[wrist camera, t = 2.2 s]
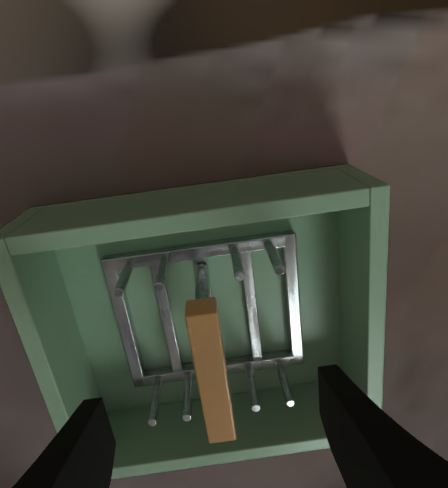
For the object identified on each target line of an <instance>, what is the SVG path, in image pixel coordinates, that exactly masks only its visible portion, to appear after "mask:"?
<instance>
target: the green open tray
mask: <svg viewBox="0 0 448 488" xmlns="http://www.w3.org/2000/svg"><path fill="white" fill-rule="evenodd" d="M389 204H390V185H389V184H387V183H385V182H383V181H381V180H379V179H377V178H375V177H373V176H371V175H369V174H367V173H365V172H363V171H361V170H359V169H357V168H355V167H353V166H352V165H350V164H344V165H337V166H330V167H322V168H315V169H308V170H300V171H293V172H286V173H279V174H271V175H264V176H257V177H249V178H242V179H235V180H227V181H220V182H213V183H206V184H198V185H191V186H184V187H176V188H169V189H162V190H154V191H147V192H140V193H133V194H125V195H118V196H111V197H103V198H96V199H89V200H82V201H74V202H67V203H60V204H52V205H45V206H38V207H31V208H29V209H28V210H26V211H25V212H24V213H22V214H21V215H19V216H18V217H17V218H15V219H14V220H12V221H11V222H10V223H8V224H7V225H5V226H4V227H3V228H1V229H0V286H1V289H2V291H3V294H4V297H5V299H6V302H7V304H8V307H9V310H10V312H11V315H12V317H13V320H14V323H15V325H16V328H17V330H18V333H19V336H20V338H21V341H22V343H23V346H24V349H25V351H26V354H27V356H28V359H29V362H30V364H31V367H32V369H33V372H34V375H35V377H36V380H37V382H38V385H39V388H40V390H41V393H42V395H43V398H44V401H45V403H46V406H47V408H48V411H49V414H50V416H51V419H52V421H53V424H54V427H55V429H56V432H57V433H58V432H59V431H60V429H61V428H62V427H63V426H64V424H65V423H66V422H67V420H68V419H69V418H70V417H71V415H72V414H73V413H74V411H75V410H76V409H77V407H78V406H79V405H80V404H81V403H82V401H83V400H85V399H92V398H99V397H102V399H103V402H104V405H105V408H106V412H107V415H108V418H109V421H110V424H111V428H112V431H113V434H114V437H115V440H116V448H115V456H114V464H113V471H112V477H111V479H116V478H123V477H130V476H137V475H144V474H151V473H158V472H165V471H172V470H179V469H186V468H193V467H200V466H207V465H214V464H221V463H228V462H235V461H242V460H249V459H256V458H263V457H270V456H277V455H284V454H291V453H298V452H305V451H312V450H319V449H326V448H330V446H329V443H328V440H327V437H326V434H325V430H324V427H323V424H322V420H321V417H320V411H319V387H318V367H320V366H327V365H334V364H336V365H338V366H339V367H340V368H341V369H342V370H343V371H344V373H345V374H346V375H347V376H348V377H349V378H350V379H351V380H352V381H353V382H354V383H355V384H356V385H357V386H358V387H359V388H360V389H361V390H362V391H363V392H364V393H365V394H366V395H367V396H368V397H369V398H370V399H371V400H372V401H373V402H374V403H375V404H376V405H377V406H378V407H380V408H381V409H382V399H383V371H384V343H385V315H386V287H387V259H388V231H389ZM284 230H294V232H295V233H296V243H297V260H298V276H299V293H300V310H301V327H302V344H303V359H304V363H303V364H299V365H292V366H284V368H285V371H286V374H287V378H288V381H289V384H290V388H291V391H292V394H293V397H294V401H295V404H294V406H292V407H288V406H287V405H286V403H285V399H284V396H283V392H282V388H281V385H280V381H279V377H278V374H277V370H276V368H270V369H263V370H256V371H254V376H255V381H256V386H257V392H258V397H259V402H260V410H259V411H257V412H254V411H252V409H251V404H250V397H249V391H248V385H247V379H246V373H245V372H242V373H235V374H228V378H229V385H230V392H231V398H232V405H233V411H234V418H235V427H236V436H237V438H236V440H232V441H225V442H218V443H209V442H208V437H207V432H206V426H205V421H204V416H203V410H202V405H201V400H200V395H199V389H198V384H197V379H193V380H192V418H191V420H190V421H187V422H186V421H184V420H183V419H182V411H183V392H184V381H178V382H171V383H164V384H162V386H161V394H160V402H159V410H158V418H157V424H156V425H155V426H149V425H148V416H149V410H150V403H151V397H152V390H153V385H150V386H143V387H136V388H135V387H134V384H133V380H132V376H131V372H130V369H129V365H128V361H127V357H126V354H125V350H124V346H123V342H122V339H121V335H120V331H119V327H118V324H117V320H116V316H115V313H114V309H113V305H112V301H111V298H110V294H109V290H108V286H107V283H106V279H105V275H104V272H103V268H102V264H101V259H102V258H103V256H104V255H111V254H118V253H125V252H133V251H140V250H147V249H154V248H162V247H169V246H176V245H183V244H191V243H198V242H205V241H212V240H219V239H227V238H234V237H241V236H248V235H256V234H263V233H270V232H277V231H284ZM276 251H277V253H278V255H279V257H280V259H281V261H282V249H281V248H276ZM251 255H252V264H253V273H254V283H255V292H256V301H257V311H258V320H259V329H260V338H261V348H262V353H264V352H271V351H278V350H285V349H289V342H288V328H287V315H286V302H285V289H284V275H283V274H282V275H277V274H276V273H275V271H274V269H273V267H272V264H271V262H270V259H269V257H268V254H267V252H266V250H261V251H253V252H251ZM282 263H283V262H282ZM207 264H208V268H209V277H210V284H211V290H212V297H216V299H217V306H218V312H219V319H220V326H221V332H222V339H223V345H224V352H225V358H228V357H235V356H243V355H250V354H252V353H251V344H250V336H249V328H248V319H247V311H246V302H245V294H244V286H243V280H241V281H238V280H236V279H235V277H234V272H233V267H232V261H231V256H230V255H225V256H217V257H210V258H207ZM195 269H196V263H195V260H189V261H181V262H174V263H169V265H168V271H167V277H166V285H167V290H168V295H169V300H170V305H171V309H172V314H173V319H174V324H175V329H176V334H177V339H178V344H179V349H180V354H181V359H182V364H186V363H193V358H192V353H191V347H190V342H189V337H188V332H187V326H186V321H185V306H186V301H189V300H195ZM121 272H122V270H121ZM125 291H126V295H127V299H128V303H129V307H130V311H131V315H132V319H133V323H134V327H135V331H136V335H137V339H138V343H139V347H140V351H141V355H142V359H143V363H144V367H145V369H150V368H157V367H165V366H171V361H170V356H169V352H168V347H167V343H166V338H165V333H164V329H163V324H162V320H161V315H160V310H159V306H158V301H157V296H156V292H155V289H154V283H153V278H152V273H151V269H150V266H145V267H138V268H133V271H132V274H131V277H130V279H129V282H128V285H127V288H126V290H125Z"/></svg>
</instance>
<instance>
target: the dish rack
mask: <svg viewBox="0 0 448 488" xmlns="http://www.w3.org/2000/svg"><path fill="white" fill-rule="evenodd" d="M276 248H281V249H282V261H281V259H280V257H279V255H278V253H277V251H276ZM261 250H266V252H267V254H268V257H269V259H270V262H271V264H272V267H273V269H274V271H275V273H276V274H277V275H282V274H283V275H284V289H285V302H286V315H287V328H288V342H289V349H285V350H278V351H271V352H264V353H262V348H261V338H260V329H259V320H258V311H257V301H256V292H255V283H254V273H253V264H252V255H251V252H253V251H261ZM225 255H230V256H231V261H232V267H233V272H234V277H235V279H236V280H238V281H241V280H243V286H244V294H245V302H246V311H247V319H248V328H249V336H250V344H251V353H252V354H250V355H243V356H235V357H228V358H225V352H224V345H223V339H222V332H221V326H220V319H219V312H218V306H217V299H216V297H212V290H211V284H210V277H209V268H208V264H207V258H210V257H217V256H225ZM189 260H195V263H196V269H195V300H189V301H186V306H185V321H186V326H187V332H188V337H189V342H190V347H191V353H192V358H193V363H186V364H182V359H181V354H180V349H179V344H178V339H177V334H176V329H175V324H174V319H173V314H172V309H171V305H170V300H169V295H168V290H167V285H166V277H167V271H168V265H169V263H174V262H181V261H189ZM282 262H283V263H282ZM101 264H102V268H103V272H104V275H105V279H106V283H107V286H108V290H109V294H110V298H111V301H112V305H113V309H114V313H115V316H116V320H117V324H118V327H119V331H120V335H121V339H122V342H123V346H124V350H125V354H126V357H127V361H128V365H129V369H130V372H131V376H132V380H133V384H134V387H135V388H136V387H143V386H150V385H153V390H152V397H151V403H150V410H149V416H148V425H149V426H155V425H156V424H157V418H158V410H159V402H160V394H161V386H162V384H164V383H171V382H178V381H184V392H183V411H182V419H183V420H184V421H186V422H187V421H190V420H191V418H192V380H193V379H197V384H198V389H199V395H200V400H201V405H202V410H203V416H204V421H205V426H206V432H207V437H208V442H209V443H218V442H225V441H232V440H236V438H237V436H236V427H235V418H234V411H233V405H232V398H231V392H230V385H229V378H228V374H235V373H242V372H245V373H246V379H247V385H248V391H249V397H250V404H251V409H252V411H254V412H257V411H259V410H260V402H259V397H258V392H257V386H256V381H255V376H254V371H256V370H263V369H270V368H276V370H277V374H278V377H279V381H280V385H281V388H282V392H283V396H284V399H285V403H286V405H287V406H288V407H292V406H294V404H295V401H294V397H293V394H292V391H291V388H290V384H289V381H288V378H287V374H286V371H285V368H284V366H292V365H299V364H303V363H304V359H303V344H302V327H301V310H300V293H299V276H298V260H297V243H296V233H295V232H294V230H284V231H277V232H270V233H263V234H256V235H248V236H241V237H234V238H227V239H219V240H212V241H205V242H198V243H191V244H183V245H176V246H169V247H162V248H154V249H147V250H140V251H133V252H125V253H118V254H111V255H104V256H103V258H102V259H101ZM145 266H150V269H151V273H152V278H153V283H154V289H155V292H156V296H157V301H158V306H159V310H160V315H161V320H162V324H163V329H164V333H165V338H166V343H167V347H168V352H169V356H170V361H171V366H165V367H157V368H150V369H145V367H144V363H143V359H142V355H141V351H140V347H139V343H138V339H137V335H136V331H135V327H134V323H133V319H132V315H131V311H130V307H129V303H128V299H127V295H126V291H125V290H126V288H127V285H128V282H129V279H130V277H131V274H132V271H133V268H138V267H145ZM121 270H122V272H121Z"/></svg>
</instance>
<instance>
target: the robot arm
mask: <svg viewBox="0 0 448 488" xmlns="http://www.w3.org/2000/svg"><path fill="white" fill-rule="evenodd" d="M318 387H319V411H320V417H321V420H322V424H323V427H324V430H325V434H326V437H327V440H328V443H329V446H330V448H331V451H332V453H333V456H334V458H335V460H336V463H337V465H338V468H339V470H340V472H341V475H342V477H343V479H344V482H345V484H346V487H347V488H448V461H446V460H445V459H443V458H442V457H441V456H439V455H438V454H436V453H435V452H433V451H432V450H431V449H429V448H428V447H427V446H425V445H424V444H423V443H421V442H420V441H419V440H417V439H416V438H415V437H413V436H412V435H411V434H410V433H408V432H407V431H406V430H405V429H404V428H402V427H401V426H400V425H399V424H398V423H396V422H395V421H394V420H393V419H392V418H391V417H389V416H388V415H387V414H386V413H385V412H384V411H383V410H382V409H381V408H380V407H378V406H377V405H376V404H375V403H374V402H373V401H372V400H371V399H370V398H369V397H368V396H367V395H366V394H365V393H364V392H363V391H362V390H361V389H360V388H359V387H358V386H357V385H356V384H355V383H354V382H353V381H352V380H351V379H350V378H349V377H348V376H347V375H346V374H345V373H344V371H343V370H342V369H341V368H340V367H339V366H338V365H336V364H334V365H327V366H320V367H318ZM115 448H116V440H115V437H114V434H113V431H112V428H111V424H110V421H109V418H108V415H107V412H106V408H105V405H104V402H103V399H102V397H99V398H92V399H85V400H83V401H82V403H81V404H80V405H79V406H78V407H77V409H76V410H75V411H74V413H73V414H72V415H71V417H70V418H69V419H68V420H67V422H66V423H65V424H64V426H63V427H62V428H61V429H60V431H59V432H58V433H57V435H56V436H55V437H54V438H53V440H52V441H51V442H50V443H49V445H48V446H47V447H46V448H45V450H44V451H43V452H42V453H41V455H40V456H39V457H38V458H37V460H36V461H35V462H34V463H33V464H32V465H31V467H30V468H29V469H28V470H27V471H26V472H25V473H24V475H23V476H22V477H21V478H20V479H19V480H18V482H17V483H16V484H15V485H14V486H13V487H12V488H109V485H110V481H111V477H112V471H113V464H114V456H115Z"/></svg>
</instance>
